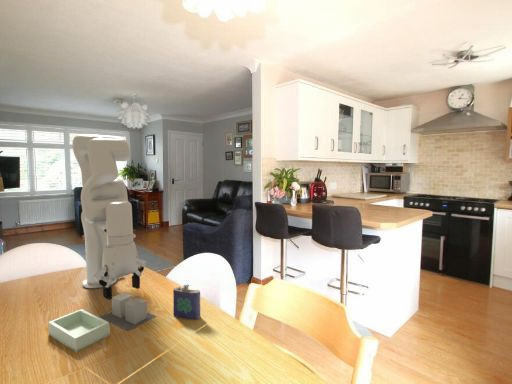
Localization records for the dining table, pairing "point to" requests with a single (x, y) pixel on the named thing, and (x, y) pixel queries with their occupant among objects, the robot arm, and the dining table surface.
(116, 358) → the dining table surface
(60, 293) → the dining table surface
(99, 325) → the bin
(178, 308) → the flask
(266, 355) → the dining table surface
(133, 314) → the grey block
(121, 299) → the stone
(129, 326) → the mat
